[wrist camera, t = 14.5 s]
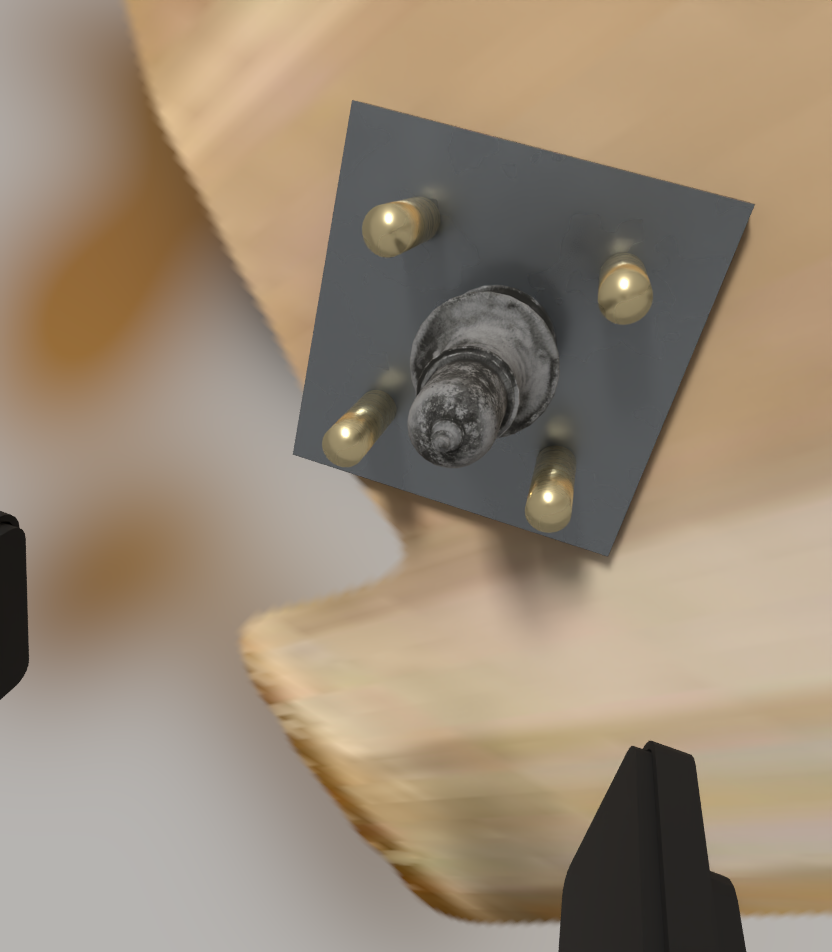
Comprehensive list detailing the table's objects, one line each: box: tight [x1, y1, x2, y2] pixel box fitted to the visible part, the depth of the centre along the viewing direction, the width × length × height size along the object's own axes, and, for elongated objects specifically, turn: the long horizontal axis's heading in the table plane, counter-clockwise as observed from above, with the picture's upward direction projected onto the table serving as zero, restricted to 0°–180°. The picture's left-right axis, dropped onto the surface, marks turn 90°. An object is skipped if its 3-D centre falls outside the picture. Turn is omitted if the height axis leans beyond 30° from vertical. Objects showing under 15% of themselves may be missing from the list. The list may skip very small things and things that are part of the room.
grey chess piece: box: [407, 285, 560, 468], centre depth 26 cm, size 6×6×12 cm
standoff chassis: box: [293, 100, 755, 556], centre depth 30 cm, size 16×16×6 cm
